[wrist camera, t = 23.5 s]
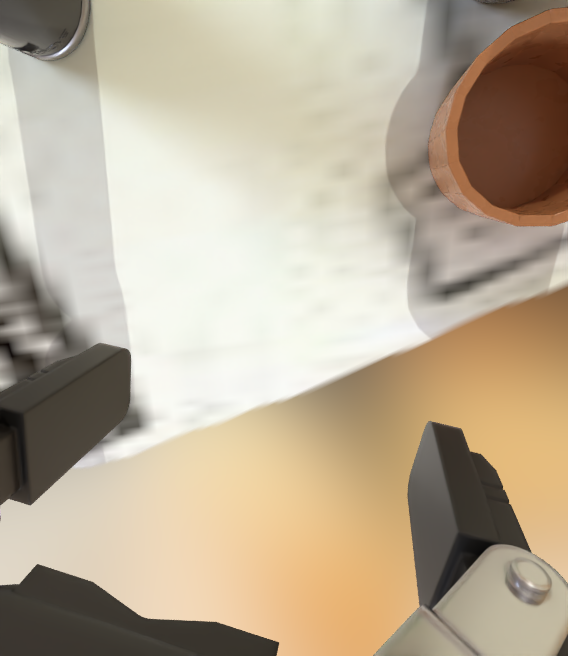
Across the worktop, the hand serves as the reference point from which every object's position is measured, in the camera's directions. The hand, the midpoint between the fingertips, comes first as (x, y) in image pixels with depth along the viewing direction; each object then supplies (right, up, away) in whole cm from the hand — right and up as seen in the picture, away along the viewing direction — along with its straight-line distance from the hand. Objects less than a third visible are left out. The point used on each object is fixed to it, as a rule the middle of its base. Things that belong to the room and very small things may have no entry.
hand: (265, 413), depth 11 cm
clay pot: (+18, +17, +23) cm, 34 cm away
